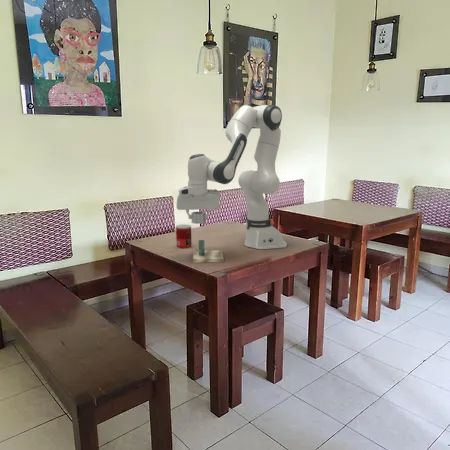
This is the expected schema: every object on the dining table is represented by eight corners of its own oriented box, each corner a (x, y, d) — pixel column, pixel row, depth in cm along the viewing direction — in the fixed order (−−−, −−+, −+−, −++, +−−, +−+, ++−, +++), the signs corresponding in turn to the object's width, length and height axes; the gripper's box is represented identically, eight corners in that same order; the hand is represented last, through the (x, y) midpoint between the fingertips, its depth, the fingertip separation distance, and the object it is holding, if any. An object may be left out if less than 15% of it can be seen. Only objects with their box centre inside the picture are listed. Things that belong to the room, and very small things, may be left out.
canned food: (189, 248, 215) (188, 228, 213) (174, 247, 217) (173, 227, 214) (193, 244, 222) (192, 224, 220) (179, 244, 224) (178, 224, 222)
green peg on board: (221, 253, 207) (221, 236, 205) (223, 261, 194) (223, 244, 192) (193, 253, 206) (193, 237, 204) (193, 262, 193) (192, 244, 191)
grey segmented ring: (205, 220, 201) (205, 211, 200) (205, 223, 195) (205, 214, 194) (191, 220, 200) (191, 211, 199) (191, 223, 194) (191, 214, 193)
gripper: (219, 188, 198) (220, 216, 201) (176, 188, 197) (177, 217, 200) (220, 190, 191) (220, 219, 195) (175, 190, 190) (176, 220, 194)
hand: (198, 218), depth 197 cm, fingers closed on grey segmented ring, 6 cm apart
